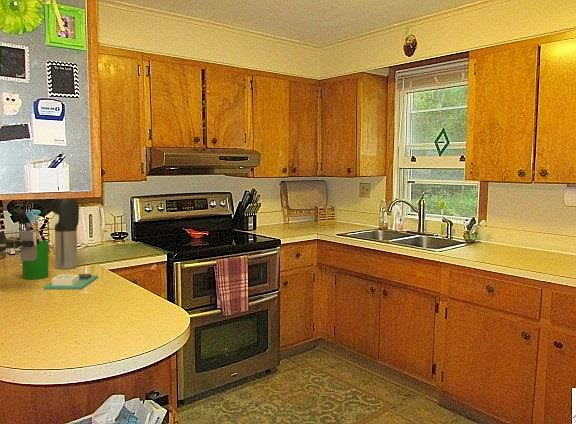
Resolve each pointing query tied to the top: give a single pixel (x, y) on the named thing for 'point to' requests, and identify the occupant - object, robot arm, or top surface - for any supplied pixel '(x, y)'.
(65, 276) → the board
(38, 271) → the green pen holder
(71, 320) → the top surface
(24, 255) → the plug
